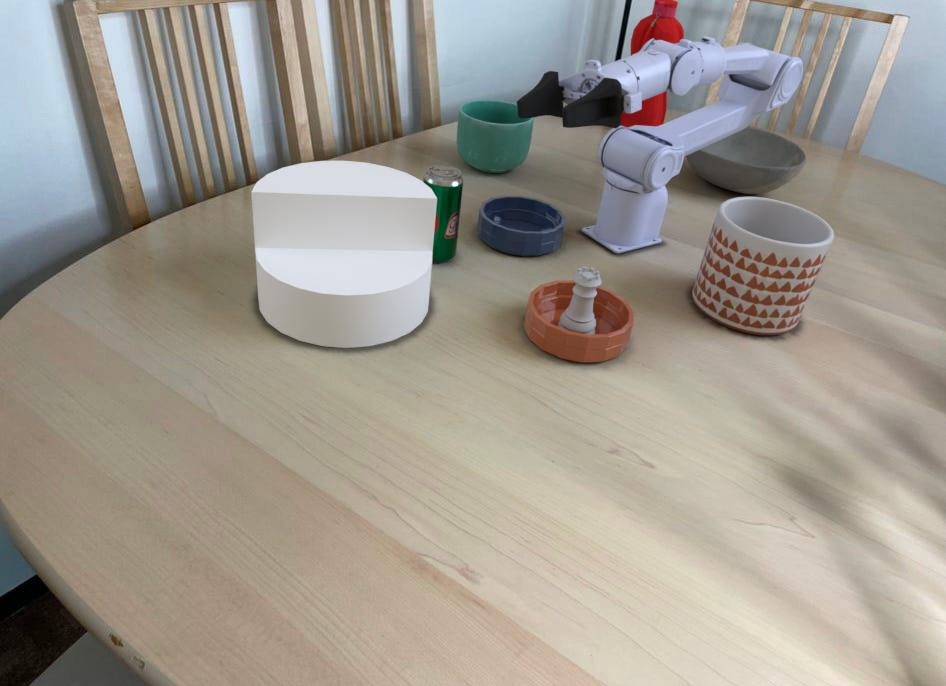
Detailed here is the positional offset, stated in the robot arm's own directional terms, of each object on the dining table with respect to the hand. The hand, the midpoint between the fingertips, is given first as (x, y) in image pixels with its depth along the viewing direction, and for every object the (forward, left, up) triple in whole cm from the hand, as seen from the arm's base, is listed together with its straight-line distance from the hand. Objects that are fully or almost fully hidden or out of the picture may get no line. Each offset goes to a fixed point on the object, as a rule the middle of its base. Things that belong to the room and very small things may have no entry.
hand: (541, 114), depth 87 cm
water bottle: (-60, -39, -21) cm, 75 cm away
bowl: (-56, -10, -21) cm, 61 cm away
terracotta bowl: (+3, +15, -21) cm, 26 cm away
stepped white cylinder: (+24, -3, -21) cm, 32 cm away
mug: (-20, -33, -21) cm, 44 cm away
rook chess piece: (+3, +15, -21) cm, 26 cm away
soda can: (+8, -8, -21) cm, 24 cm away
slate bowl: (-6, -8, -21) cm, 23 cm away
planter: (-22, +20, -21) cm, 37 cm away
